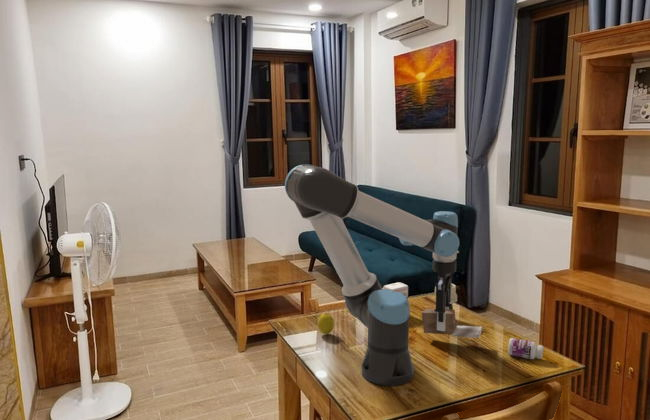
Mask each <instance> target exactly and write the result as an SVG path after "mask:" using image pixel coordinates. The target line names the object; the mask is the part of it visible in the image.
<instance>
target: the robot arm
mask: <svg viewBox="0 0 650 420" xmlns="http://www.w3.org/2000/svg"><path fill="white" fill-rule="evenodd" d="M284 189H285V192H286V193H285V194H286V195H287V197H288V198H289V199H290V200H291V201H292V202H294V204H295V206H296V208H297V210H298V212H299V214H300V215H301V217H302V219H304V220H308V221H310V223H311V226H312V227H313V230H314V231H315V233H316V235H317V237H318V239H319V240H320V242H321V243H320V244H322V246H323V248H324V250H325V252H326V254H327V256H328V259H329V260H330V262H331V264H332V265H333V268H334V269H335V271H336V274H337V275H338V277H339V279H340V281H341V283H342V285H343V286H342V288H341V293H342V295H343V297H344V302H345V303H344V304H345V306H346V308H347V310H348V311H349V313H350V314H351V315H352V316H353V317H355V318H356V319H357V320H359V322H361V323H362V325H364V327H366V328H367V347H366V351H365V354H364V357H363V359H362V362H361V372H360V373H361V375H362V377H363V378H364V379H365V380H366V381H368V382H369V383H373V384H375V385H380V386H387V387H389V386H391V387H394V386H401V385H404V384H407V383H409V382H410V381H412V380H413V378H414V376H415V365H414V363H413V360H412V356H411V354H410V351H409V341H410V339H409V338H410V337H409V334H410V316H411V309H410V301H409V299H407V298H406V297H405V296H404V295H403V294H401V293H399V292H397V291H396V292H394V291H393V290H383V288H382V287H383V286H382V285H381V283H380V282H379V280H378V278H377V275H376V273H375V274H374V273H372V272H370V271H369V270H368V269H367V266H366V265H365V263H364V261H363V259H362V257H361V255H360V253H359V250H358V249H357V247H356V245H355V243H354V240H353V239H352V236H351V234H350V232H349V231H348V228H347V227H346V225H345V223H344V221H343V219H345V218H347V217H348V218H350V219H353V220H355V221H358V222H360V223H363V224H364V225H367V226H369V227H373V228H374V229H377V230H379V231H381V232H383V233H386V234H389V235H390V236H394V237H396V238H398V239H399V242H400V243H401V245H403V246H410V247H412V246H418V247H420V248H421V249H425V250H426V251H428V252H431V253H432V271H433V272H434V273H437V274H438V276H437V277H436V283H435V287H436V295H435V308H434V309H435V312H437V330H439V331H445V330H446V312H445V309H446V310H449V307H448V306H453V304H449V303H450V302H451V284H452V277H453V274H455V273H456V272H457V254H459V253H460V251H459V247H460V238H459V237H458V232H459V231H458V230H459V225H458V224H459V220H458V215H457V213H456V212H453V211H443V210H440V211H435V212H434V213H433V217H432V219H424V218H420V217H419V216H416V215H414V214H412V213H409V212H408V211H405V210H403V209H401V208H399V207H397V206H394V205H392V204H390V203H387V202H385V201H383V200H380V199H378V198H376V197H374V196H371V195H369V194H367V193H365V192H363V191H360V190H359V187H358V186H357V185H356V184H353V183H352V182H349V181H347V180H346V179H344V178H343V177H341V176H339V175H337V174H336V173H334V172H332V171H331V170H329V169H327V168H324V167H320V166H316V165H314V164H310V163H307V164H306V163H305V164H299V165H297V166H295V167H293V168H292V169H291V170H289V172H288V173H287V175H286V177H285V181H284Z"/></svg>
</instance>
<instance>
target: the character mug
mask: <svg viewBox="0 0 650 420" xmlns="http://www.w3.org/2000/svg"><path fill="white" fill-rule="evenodd" d="M456 290H457V285H456V284H454V283H451V302H450V303H449V304H452V306H448V307H449V310H454V306H453V304H455V303H458V294H457V291H456ZM434 295H435V296H436V286H435V287H434Z"/></svg>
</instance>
